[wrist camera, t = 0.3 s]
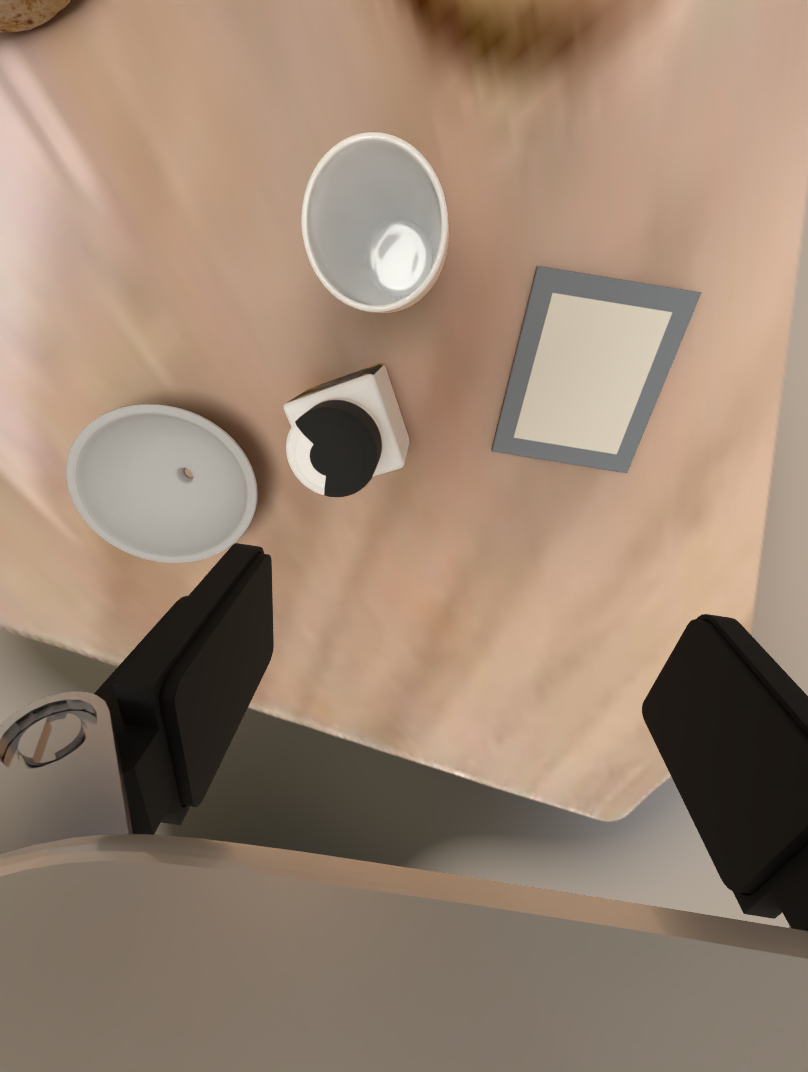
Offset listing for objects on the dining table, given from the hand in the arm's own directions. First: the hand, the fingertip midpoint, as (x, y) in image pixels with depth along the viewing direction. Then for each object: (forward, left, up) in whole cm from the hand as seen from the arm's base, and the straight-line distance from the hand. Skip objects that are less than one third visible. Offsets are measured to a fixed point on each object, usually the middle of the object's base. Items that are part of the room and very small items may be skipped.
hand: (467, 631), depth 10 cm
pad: (-3, +11, -30) cm, 32 cm away
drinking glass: (-9, -5, -31) cm, 32 cm away
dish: (+11, -23, -31) cm, 40 cm away
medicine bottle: (+3, -7, -31) cm, 32 cm away
